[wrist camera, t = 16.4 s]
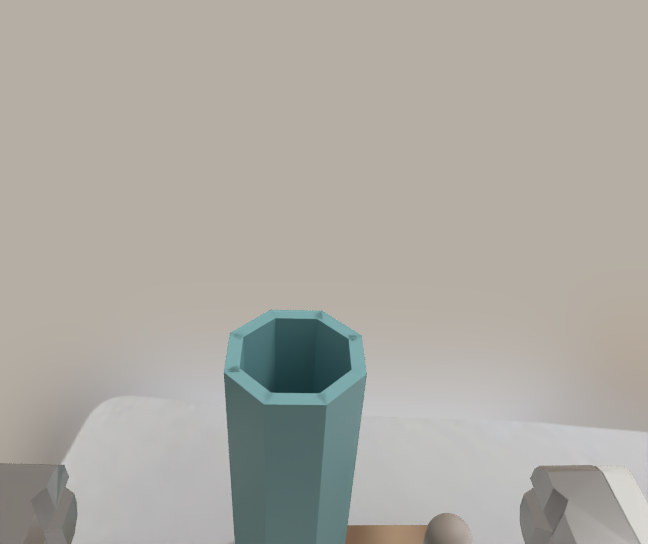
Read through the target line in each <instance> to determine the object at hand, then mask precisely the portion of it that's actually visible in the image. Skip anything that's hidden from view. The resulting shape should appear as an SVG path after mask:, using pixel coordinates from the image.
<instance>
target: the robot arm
mask: <svg viewBox="0 0 648 544" xmlns="http://www.w3.org/2000/svg"><path fill="white" fill-rule="evenodd" d="M68 478H69V476H68V473H67V471H66V468H65V466H64V465H47V464H5V463H4V464H3V463H0V544H71V542H72V539H73V536H74V533H75V526H76V520H77V502H76V499H75V495H74V493H73V492H71V491H70V490H69V489H67V488H66V487H65V486H66V483H67V481H68ZM530 479H531V482H532V484H533V487H534V488H532V489H531V490H529V491H528V492H526V493H525V494H524V496H523V499H522V502H521V505H520V525H521V530H522V535H523V538H524V541H525V544H648V503H647V501H646V499H645V497H644V496H643V494H642V492H641V490H640V489H639V487H638V485H637V483H636V481H635V480H634V478H633V476H632V474H631V473H630V471H628V470H627V469H626V468H625V467H623V466H592V465H572V466H539V467H537V468H536V469H534V471H533V474H532V476H531V478H530Z"/></svg>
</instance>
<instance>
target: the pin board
mask: <svg viewBox="0 0 648 544" xmlns="http://www.w3.org/2000/svg"><path fill="white" fill-rule="evenodd" d="M345 544H472V534H471V531H470V529H469V527H468V525H467V524H466V522H465V521H464V520H463V519H462V518H460V517H459V516H457V515H454V514H450V513H443V514H440V515H437V516H436V517H434V518H433V519H432V520H431V521H430V523H429V524H428V525H363V526H347V532H346V540H345Z"/></svg>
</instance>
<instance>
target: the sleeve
mask: <svg viewBox="0 0 648 544" xmlns="http://www.w3.org/2000/svg"><path fill="white" fill-rule="evenodd" d="M366 375H367V373H366V365H365V357H364V350H363V342H362V336H361V335H360V334H358V333H357V332H355V331H354V330H352V329H350V328H349V327H347V326H346V325H344V324H342V323H341V322H339V321H337V320H336V319H334V318H333V317H331V316H330V315H328V314H326V313H325V312H323V311H303V310H302V311H301V310H269V311H268V312H266V313H264V314H263V315H261V316H259V317H257V318H256V319H254V320H252V321H250V322H249V323H247V324H245V325H243V326H242V327H240V328H238V329H236V330H235V331H233V332H231V333H230V337H229V342H228V349H227V355H226V362H225V368H224V379H225V380H224V381H225V397H226V412H227V428H228V443H229V459H230V474H231V490H232V505H233V521H234V536H235V544H345V540H346V532H347V524H348V516H349V508H350V501H351V493H352V485H353V477H354V469H355V461H356V454H357V446H358V438H359V430H360V422H361V414H362V407H363V399H364V391H365V383H366Z"/></svg>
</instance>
